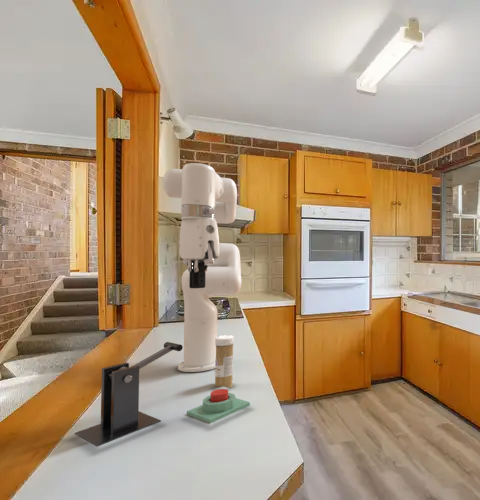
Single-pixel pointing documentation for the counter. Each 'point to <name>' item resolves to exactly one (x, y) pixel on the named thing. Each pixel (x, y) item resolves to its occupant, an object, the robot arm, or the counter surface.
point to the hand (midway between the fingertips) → (197, 287)
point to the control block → (217, 408)
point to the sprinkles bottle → (224, 361)
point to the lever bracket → (118, 406)
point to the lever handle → (155, 356)
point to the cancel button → (219, 395)
